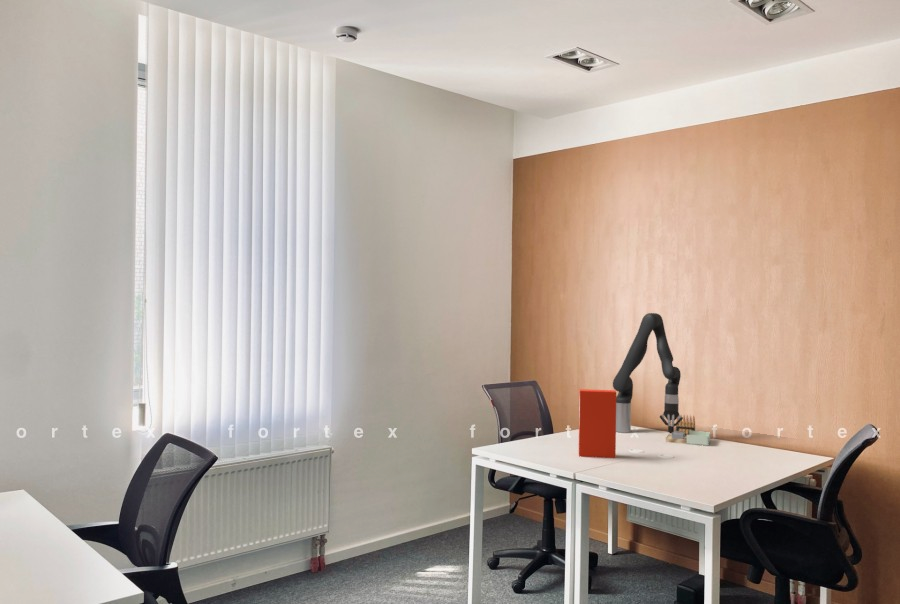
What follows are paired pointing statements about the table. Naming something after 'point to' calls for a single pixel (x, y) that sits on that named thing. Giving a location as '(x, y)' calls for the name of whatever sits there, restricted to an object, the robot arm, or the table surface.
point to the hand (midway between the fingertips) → (670, 432)
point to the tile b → (678, 435)
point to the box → (698, 438)
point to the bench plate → (670, 439)
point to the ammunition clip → (686, 425)
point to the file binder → (597, 423)
